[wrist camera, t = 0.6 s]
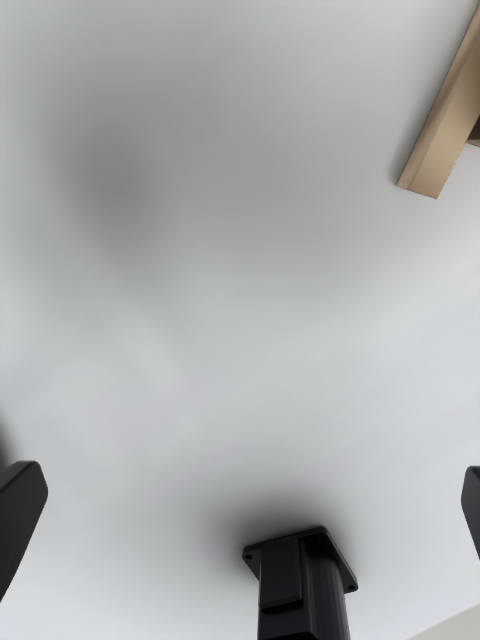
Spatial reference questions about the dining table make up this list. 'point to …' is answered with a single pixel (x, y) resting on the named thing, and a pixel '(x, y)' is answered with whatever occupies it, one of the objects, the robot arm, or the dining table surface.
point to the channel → (447, 120)
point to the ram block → (475, 134)
